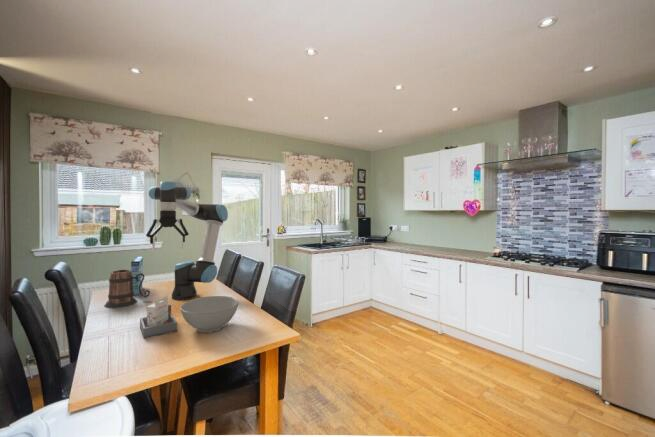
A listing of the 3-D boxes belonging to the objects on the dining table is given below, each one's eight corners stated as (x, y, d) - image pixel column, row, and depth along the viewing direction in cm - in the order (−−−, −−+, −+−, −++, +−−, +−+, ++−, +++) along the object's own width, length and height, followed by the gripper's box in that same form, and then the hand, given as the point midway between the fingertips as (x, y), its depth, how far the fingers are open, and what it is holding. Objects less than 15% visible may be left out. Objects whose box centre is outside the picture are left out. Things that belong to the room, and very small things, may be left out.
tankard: (101, 309, 168) (101, 275, 168) (106, 301, 183) (106, 269, 182) (149, 304, 180) (149, 271, 179) (150, 296, 195) (150, 266, 194)
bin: (170, 321, 153) (170, 312, 153) (176, 331, 141) (176, 322, 141) (140, 327, 145) (140, 318, 145) (143, 338, 133) (143, 328, 133)
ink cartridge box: (160, 323, 148) (160, 294, 147) (168, 324, 147) (168, 295, 146) (146, 330, 139) (146, 300, 139) (155, 331, 138) (155, 300, 138)
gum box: (135, 288, 214) (134, 257, 213) (143, 287, 216) (143, 256, 216) (130, 295, 197) (130, 261, 196) (139, 294, 199) (139, 261, 198)
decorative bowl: (181, 321, 153) (182, 298, 153) (235, 315, 164) (235, 293, 163) (178, 343, 128) (178, 316, 128) (241, 334, 139) (241, 309, 139)
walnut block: (165, 316, 160) (165, 302, 159) (171, 320, 155) (171, 305, 155) (155, 319, 156) (155, 304, 155) (161, 322, 151) (161, 307, 151)
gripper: (141, 209, 149) (141, 251, 150) (194, 210, 164) (194, 248, 165) (140, 209, 155) (140, 249, 155) (191, 210, 170) (190, 246, 171)
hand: (167, 249), depth 160 cm, fingers open, 13 cm apart
